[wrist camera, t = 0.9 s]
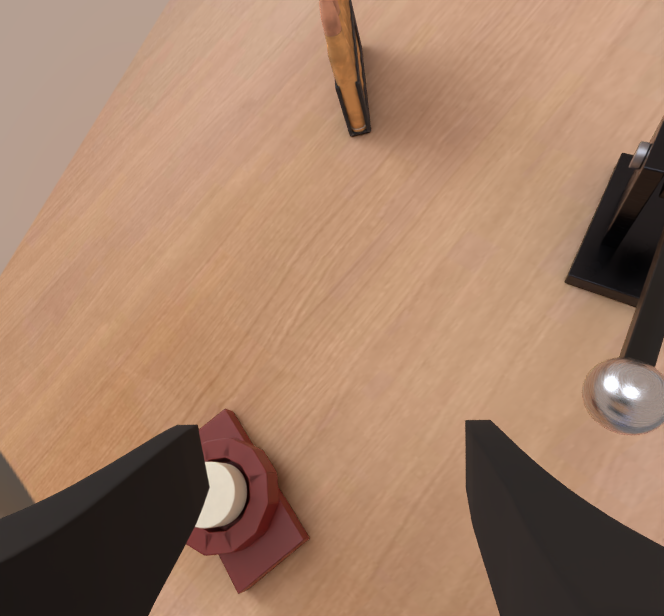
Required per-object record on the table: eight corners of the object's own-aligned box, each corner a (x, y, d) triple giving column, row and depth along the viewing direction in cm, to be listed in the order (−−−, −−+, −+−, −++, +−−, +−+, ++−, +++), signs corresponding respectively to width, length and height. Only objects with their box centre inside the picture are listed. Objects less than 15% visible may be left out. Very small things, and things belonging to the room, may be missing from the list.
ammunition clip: (371, 132, 39) (336, -6, 28) (350, 137, 39) (308, 3, 28) (361, 45, 43) (328, -105, 32) (342, 50, 43) (303, -96, 33)
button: (258, 500, 27) (246, 501, 26) (210, 539, 27) (195, 542, 26) (229, 451, 29) (216, 448, 27) (184, 487, 29) (168, 487, 27)
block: (319, 530, 28) (304, 534, 26) (237, 598, 28) (213, 609, 25) (240, 404, 33) (221, 396, 30) (169, 462, 32) (143, 459, 30)
